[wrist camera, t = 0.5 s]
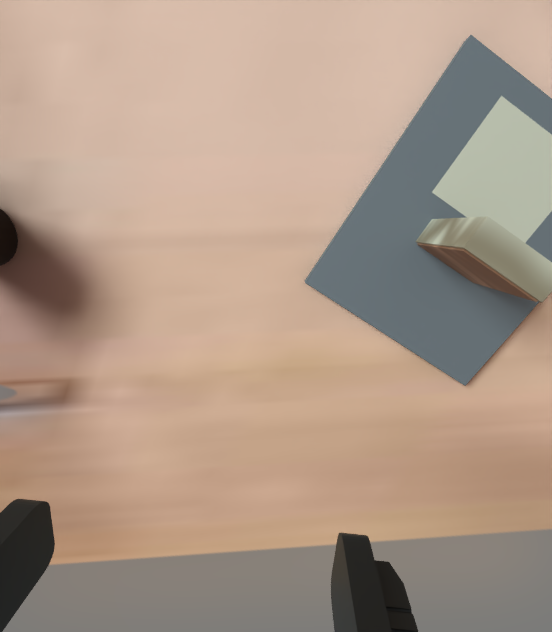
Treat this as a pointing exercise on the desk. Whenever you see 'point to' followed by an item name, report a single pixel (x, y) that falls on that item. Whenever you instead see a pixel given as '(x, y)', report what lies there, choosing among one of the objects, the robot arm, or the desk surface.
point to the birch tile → (489, 256)
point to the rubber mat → (448, 214)
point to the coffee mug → (7, 238)
